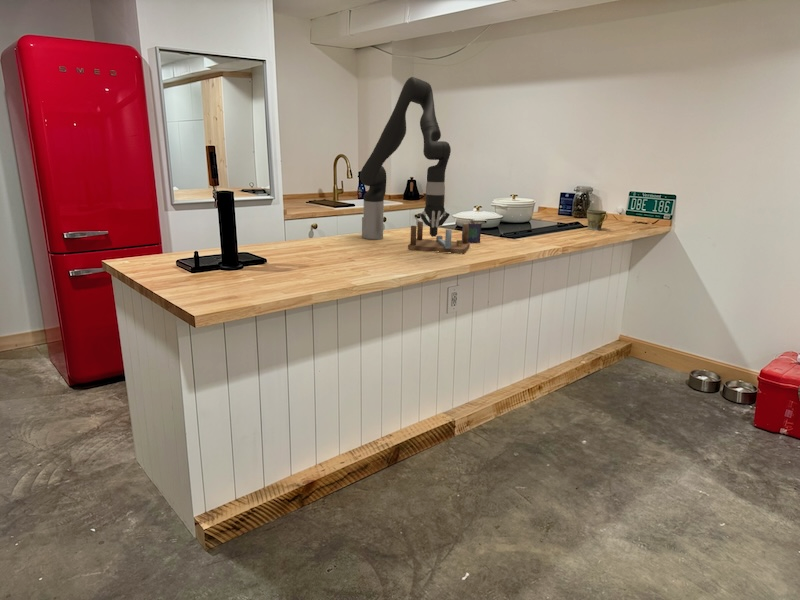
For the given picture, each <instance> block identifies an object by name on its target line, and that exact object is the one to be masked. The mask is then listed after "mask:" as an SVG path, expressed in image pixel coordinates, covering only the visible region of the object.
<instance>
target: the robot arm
mask: <svg viewBox="0 0 800 600" xmlns="http://www.w3.org/2000/svg"><path fill="white" fill-rule="evenodd" d="M434 100H435V99H434V93H433V89H432V85H431V84H430V83H429V82H428V81H425V80H422V79H420V78H417V77H414V76H410V77H409V78H408V79H407V80H406V81H405V82H404V85H403V87H402V88H401V91H400V94H399V96H398V99H397V102H396V104H395V106H394V108H393V111H392V113H391V115H390V116H389V119H388V121H387V123H386V124H385V126H384V128H383V131H382V132H381V134H380V136H379V138H378V141H377V143H376V144H375V146H374V149H373V151H372V152H371V153H370V155H369V157H368V159H367V160H366V162H365V163H364V164H363V166H362V168H361V170H360V173H359V178H360V179H359V180H360V182H361V183H362V184H363V185H364V186H366V187H368V191H366V192H365V193H364V194H363V217H361V238H362V239H366V240H381V239H384V211H385V210H384V208H385V207H384V204H385V203H384V198H385V195H386V192H387V171H386V169H385V167H384V166H383V164H384V163H385V162H386V161H387V159H388V158H390V156H392V155H393V154H394V153H395V152H396V150H398V148H399V147H400V146H401V144H402V141H403V140H404V138H405V136H406V134H407V118H406V117H407V116H406V113H407V110H408V108H409V105H410V104H411V103H415V104H417V105H420V106H421V109H422V111H423V112H422V115H421V116H420V120H419V127H420V130H421V133H422V138H423V156H424V157H425V159H427V160H429V161H433V160H434V161H437V164H435V165H431V166H428V167H427V171H426V185H425V203H424V204H425V207H424V209H423V211H422V212H420V213H419V214H418V216H419V218H420V219H421V220H422V222H423V224H424V225H425V226H427V227H429V235H430V237H432V238H433V237H435V238H436V237H437V236H438V231H439V230H438V228H439V227H442V226H443V225H444V224H445V223H446V221H447V219H448V218H449V217H450V213H448V212H447V211H446V208H445V197H446V196H445V195H446V194H445V193H446V184H445V181H446V180H445V178H446V169H447V165H448V163H449V160H450V156H451V154H452V153H451V151H452V150H451V146H450V143H449V142H447V141H444V140H442V141H441V140H440V139H441V137H442V134H441V130H440V126H439V123H438V121H437V116H436V111H435V101H434Z"/></svg>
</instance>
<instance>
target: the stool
mask: <svg viewBox="0 0 800 600" xmlns="http://www.w3.org/2000/svg"><path fill="white" fill-rule="evenodd" d="M462 228H463V241H462V239H457V240H456V241H453V240H451V246H450V249H446V248H445V247H444V246H442V245H441V244H440V243H439V242H438V241H436V239H427V238H426V239H425V238H424V239H423V235H424V234H423V233H424V231H423V229H424V222H423V221H419V220H418V221H417V225H410V242H409V244H408V245H407V250H408V249H409V250H408V251H415V250H423V251H422V252H428V251H439V252H438V253H441V252H451V253H450V254H454V253H462V254H461V255H465V254H466V253H467V251H468V250H469V249H470V246H471V245H470V244H471V243H468V233H469V225H467V224H464V225H463V224H462ZM464 253H465V254H464Z"/></svg>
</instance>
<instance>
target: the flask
mask: <svg viewBox="0 0 800 600" xmlns="http://www.w3.org/2000/svg"><path fill="white" fill-rule="evenodd" d="M464 224H467V225H469V233H468V243H470V244H479V243H481V236H482V235H481V233H482V223H481V222H478V221H474V219H473V218H472V219H470V221H469V222H466V223H463V222H462V226H463V225H464ZM461 240H462V241H463V227H462V229H461Z"/></svg>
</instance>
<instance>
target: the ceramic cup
mask: <svg viewBox="0 0 800 600" xmlns="http://www.w3.org/2000/svg"><path fill="white" fill-rule="evenodd" d="M586 218H587V230H589V231H595V230H599V231H601V230H602V226H603V223H604V221H606V220H607V219H608V214H607V211H606V210H600V209H587V210H586Z"/></svg>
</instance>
